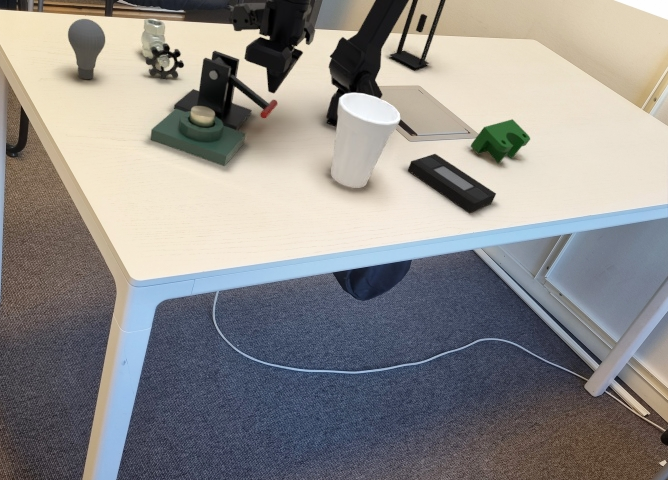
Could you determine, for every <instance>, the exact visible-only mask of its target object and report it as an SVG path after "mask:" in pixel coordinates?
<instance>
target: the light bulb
mask: <svg viewBox="0 0 668 480" xmlns="http://www.w3.org/2000/svg"><path fill="white" fill-rule="evenodd" d="M67 39H68V42H69V44H70V47H71V49H72V50H73V52H74V55H75V59H76V60H75V61H76V65H77V75H78V77H79V78H81V79H82V80H91V79H93V78H94V71H95V68H96V64H97V59H98V57H99V54H100V53H101V52H102V51H103V49H104V47H105V45H106V35H105V32H104V29H103V27H101V26H100V25H99V24H98V23H97V22H95V21H93V19H92V20H91V19H88V18H80V19H76V20H75V21H74V22H72V24H70V26H69V28H68V30H67Z"/></svg>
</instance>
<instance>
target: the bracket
mask: <svg viewBox="0 0 668 480" xmlns="http://www.w3.org/2000/svg"><path fill="white" fill-rule="evenodd" d="M218 57H220V58H221V59H222V60H224V61H225V62H226V63H227V64H229V65H230V66H228V65H225V64H222V63H220V62H217V61H214V60H216V59H217V58H218ZM239 65H240V58H237V57H234V56H231V55H228V54H225V53H223V52H220V51H217V50H213V51H212V54H211V58H208V57H204V58H203V59H202V65H201V66H202V67H201V74H200V79H199V80H200V81H199V89H198V90H197V89H195V88H192V89H191V90H190V91H189V92H187V93H186V94H185V95H184V96H183V97H182V98H181V99H179V100H178V101H177V102H176V103H175V104H174V105H173V109H174V110H175V109H179V110H181V111H184V112H188V111H191V109H192V107H194V106H204V107H208V108H210V109H212V110H213V111H214V112H215V116H216V117H217V118H219V119H220V120H221V121H222V123H223V126H226V127H229V128H232V129H235V130H237V131H238V129H240V127H241V126H242V125H243V124H244V123H245V122H246V121H247V120H248V119H249V117H250V116H251V115H252V112H253V110H252V109H251V108H247V107H244V106H241V105H239V104H236V103H234V102H233V100H234V94H235V88H236V87H235V86H233V85H232V84H231V83H230V82H229V77H230V73H231V74H233V75H234V76H235V77H236V78H238V71H239ZM231 67H232V70H231ZM230 71H231V72H230Z"/></svg>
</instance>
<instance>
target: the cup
mask: <svg viewBox="0 0 668 480" xmlns="http://www.w3.org/2000/svg"><path fill="white" fill-rule="evenodd" d="M400 113H401V112H399V110H398V109H397V108H396V107H395V106H394V105H392V104H391V103H389V102H388V101H386V100H383V99H379V98H377V97H374V96H371V95H367V94H362V93H348V94H344V95H343V96H341V97H340V98H339V104H338V121H337V127H336V129H335V138H334V145H333V152H332V161H331V168H330V176H331V178H332V179H333V180H334V181H336V182H337V183H338V184H339V185H343V186H345V187H348V188H353V189H354V188H355V189H358V188H359V189H360V188H363V187H365V186H366V185H368V181H369V179H370V178H371V175H372V173H373V172H374V169H375V167H376V165H377V163H378V161H379V159H380V157H381V155H382V152H383V151H384V149H385V147H386V144H387V143H388V141H389V139H390V137H391V135H392V134H393V133H395V131H396V130H397V129H398V126H399V124H400V122H401V114H400Z"/></svg>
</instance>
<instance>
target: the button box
mask: <svg viewBox="0 0 668 480" xmlns="http://www.w3.org/2000/svg"><path fill="white" fill-rule="evenodd" d="M190 115H191V111H188V112H184V111H181V110H179V109H174V110H172V111H171V112H170V113H168V115H166V116H165V117H164V118H163V119H162V120H161V121H160V122H158V123H157V124H156V125H155V126H154V127H152V128H151V131H150V141H153V142H155V143H159V144H161V145H164V146H167V147H169V148H172V149H175V150H178V151H181V152H184V153H185V154H190V155H192V156H195V157H198V158H201V159H204V160H207V161H209V162H211V163H215V164H217V165H220V166H223V167H225V166H226V165H227V164H228V163H229V162H230V160H232V158H233V157H234V156H235V154H236V153H237V152H238V151H239V150H240V148H241V147H242V146H243V145H244V144H245V140H246V136H247V133H245V132H244V131H240V130H238V129H237V130H235V129H232V128H229V127H226V126H223V123H222V121H221V120H220V119H219V118H217V117H216V116H215V118H214V124H213V127H211V128H201V127H198V126H195V125H193V124H191V123H190Z"/></svg>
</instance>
